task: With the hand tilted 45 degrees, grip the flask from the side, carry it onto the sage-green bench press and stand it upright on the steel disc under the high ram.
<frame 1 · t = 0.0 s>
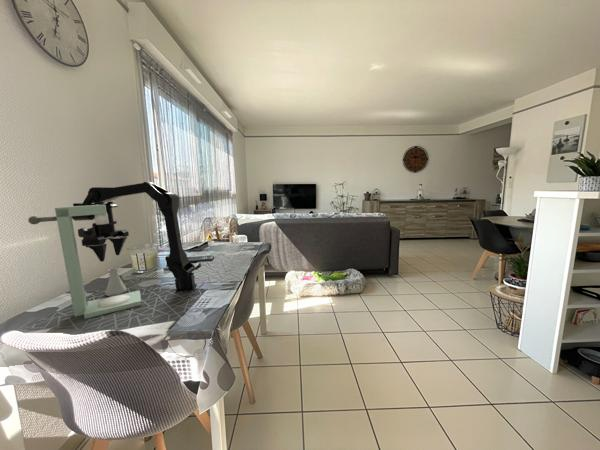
hand: (110, 258, 102), 15 cm above the table, tool pointing down, fingers open, 9 cm apart
flask: (116, 293, 104), on the table
bench press: (115, 305, 93), on the table
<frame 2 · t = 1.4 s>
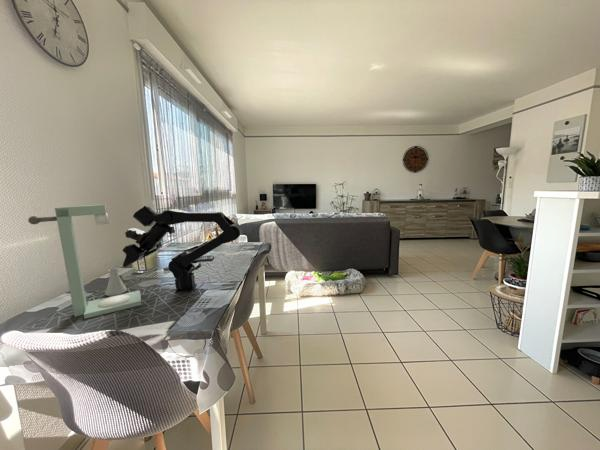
hand: (130, 262, 103), 12 cm above the table, tool tilted 45°, fingers open, 9 cm apart
nothing on the table moved.
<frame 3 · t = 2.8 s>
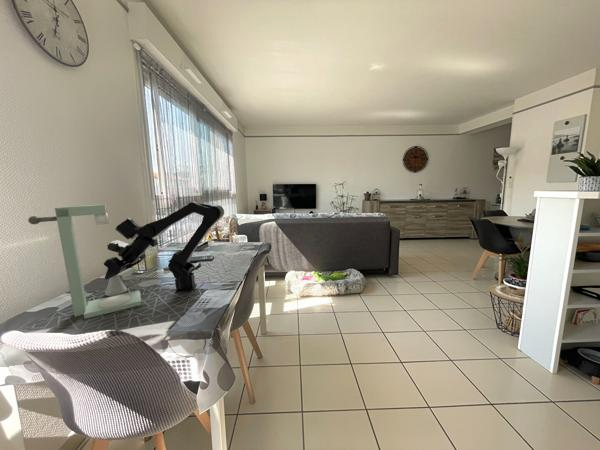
hand: (113, 274, 103), 8 cm above the table, tool tilted 45°, fingers open, 9 cm apart
nothing on the table moved.
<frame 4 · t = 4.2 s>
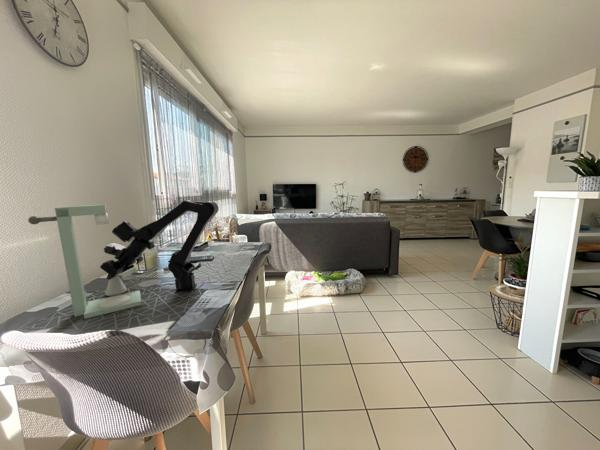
hand: (110, 277, 103), 7 cm above the table, tool tilted 45°, fingers closed on flask, 3 cm apart
flask: (116, 293, 104), on the table, touching gripper
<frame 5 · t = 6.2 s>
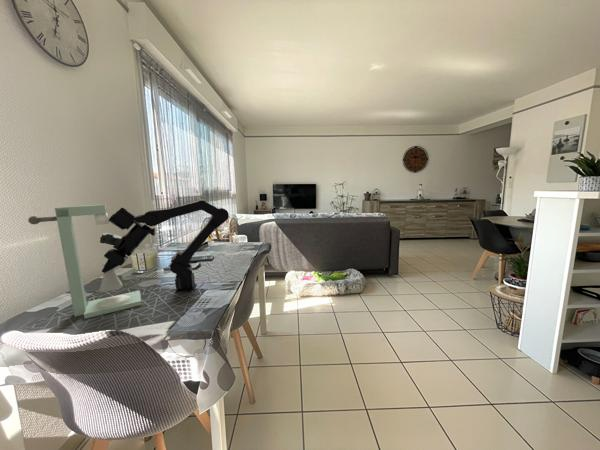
hand: (104, 270, 94), 12 cm above the table, tool tilted 45°, fingers closed on flask, 3 cm apart
flask: (111, 289, 95), point 5 cm above the table, touching gripper
when the fingers open (9 cm above the table, at t = 7.6 s): flask stays where it is, resting on bench press.
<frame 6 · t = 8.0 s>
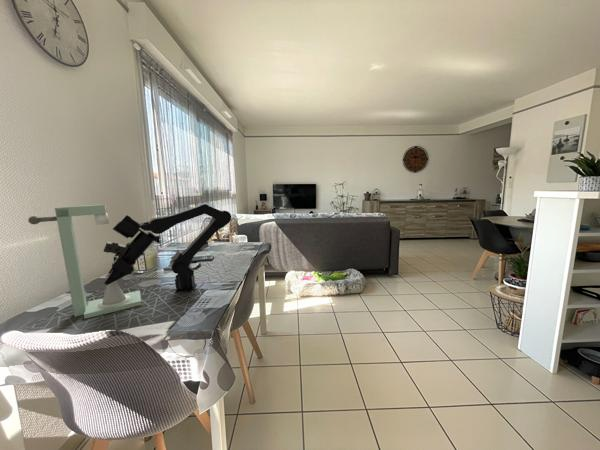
hand: (106, 281, 91), 10 cm above the table, tool tilted 45°, fingers open, 8 cm apart
flask: (114, 301, 93), point 1 cm above the table, touching bench press
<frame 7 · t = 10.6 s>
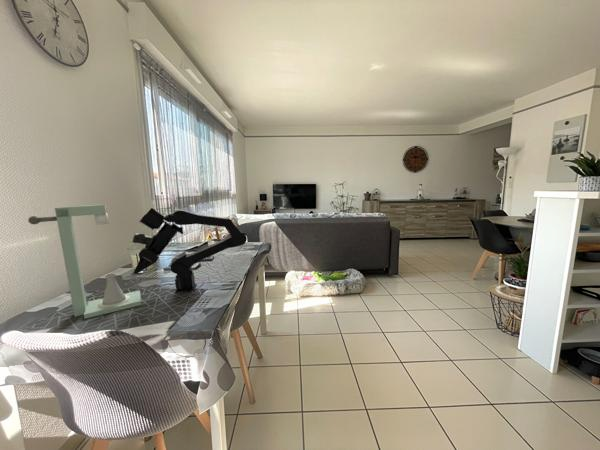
hand: (137, 270, 97), 11 cm above the table, tool tilted 40°, fingers open, 9 cm apart
nothing on the table moved.
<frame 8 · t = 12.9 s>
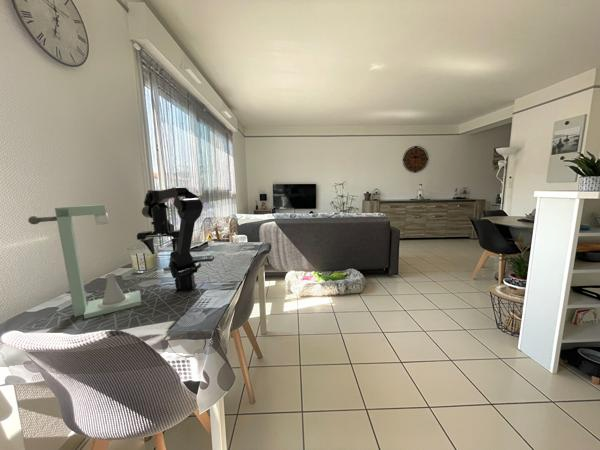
hand: (164, 253, 113), 13 cm above the table, tool pointing down, fingers open, 9 cm apart
nothing on the table moved.
at the end: flask 0.1 cm off-centre on the bench press, point 1.5 cm above the bench press's base; flask tilted 0°; the gripper is holding nothing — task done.
